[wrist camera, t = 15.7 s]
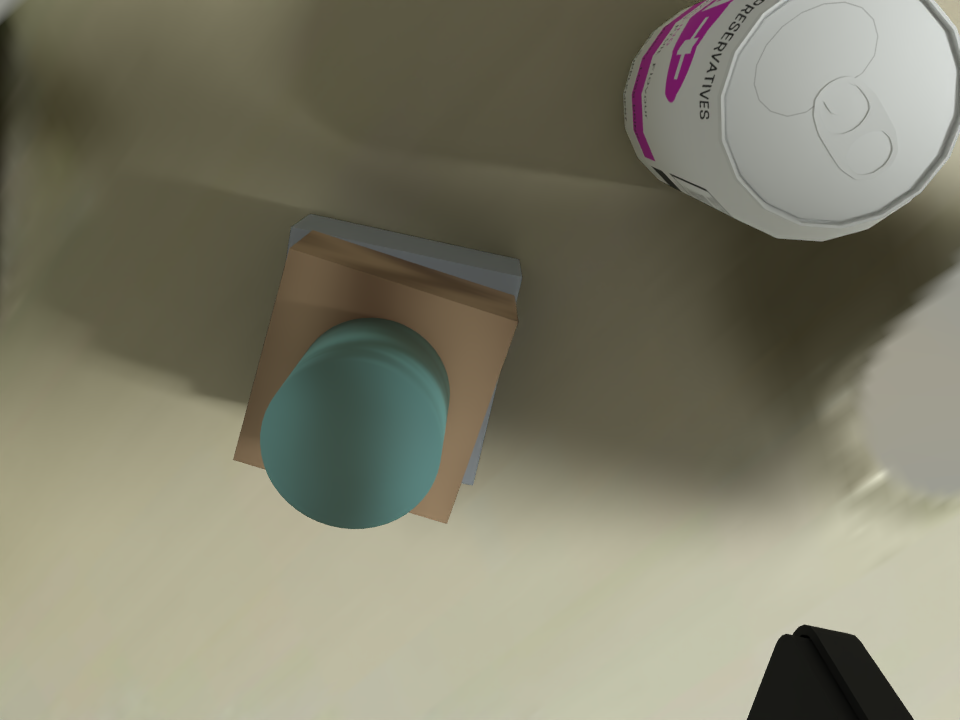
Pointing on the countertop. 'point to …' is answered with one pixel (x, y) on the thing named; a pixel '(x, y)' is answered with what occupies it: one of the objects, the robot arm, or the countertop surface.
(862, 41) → the supplement can
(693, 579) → the countertop surface
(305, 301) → the walnut block
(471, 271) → the slate base block
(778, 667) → the robot arm
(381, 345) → the teal cylinder
